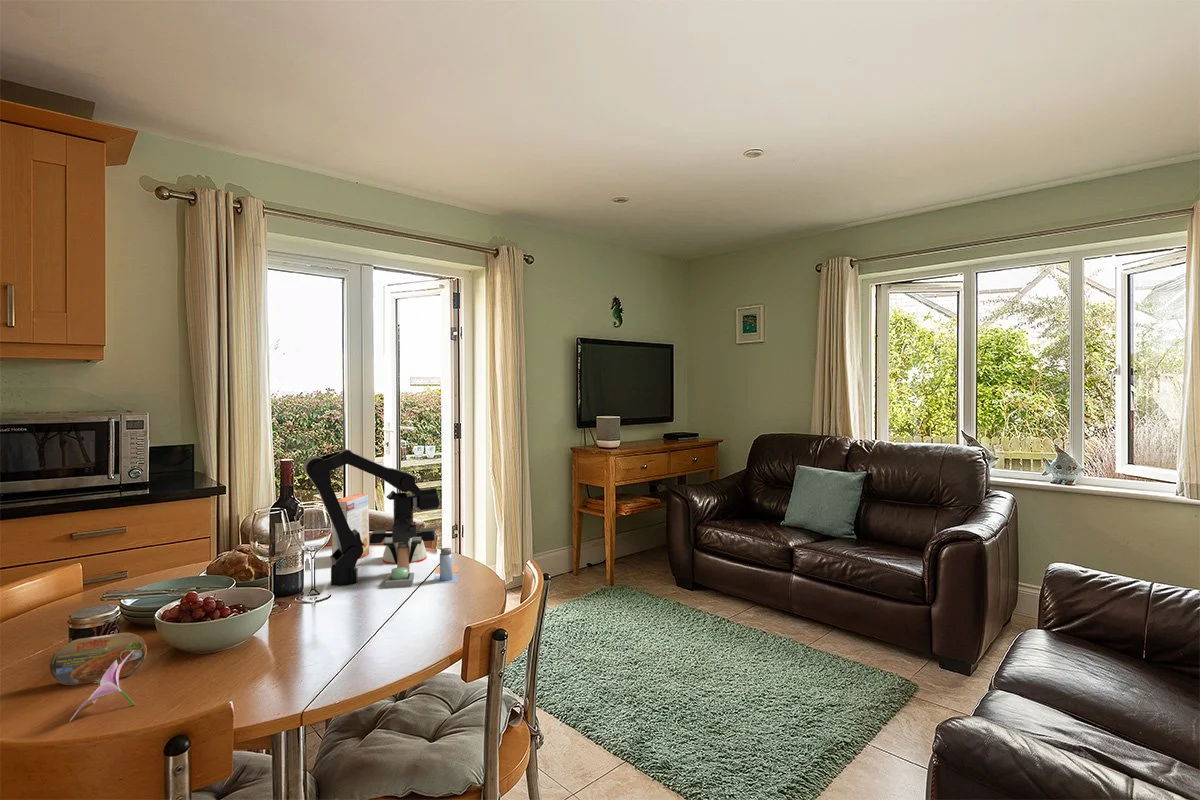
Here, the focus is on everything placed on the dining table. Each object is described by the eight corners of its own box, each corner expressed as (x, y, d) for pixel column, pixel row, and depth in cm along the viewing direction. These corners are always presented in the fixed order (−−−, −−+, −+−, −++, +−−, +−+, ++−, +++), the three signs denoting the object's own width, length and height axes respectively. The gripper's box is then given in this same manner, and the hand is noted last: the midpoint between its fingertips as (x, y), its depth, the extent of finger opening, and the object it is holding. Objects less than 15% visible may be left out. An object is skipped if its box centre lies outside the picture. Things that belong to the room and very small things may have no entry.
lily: (133, 691, 118) (102, 653, 116) (176, 675, 115) (145, 636, 113) (74, 744, 107) (38, 703, 105) (120, 728, 104) (84, 686, 101)
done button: (390, 582, 174) (390, 572, 174) (392, 577, 179) (392, 567, 179) (407, 581, 175) (407, 571, 175) (408, 576, 180) (408, 566, 180)
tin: (48, 689, 117) (48, 645, 116) (55, 681, 119) (55, 639, 119) (144, 675, 123) (144, 633, 122) (148, 668, 125) (148, 627, 125)
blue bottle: (439, 581, 179) (439, 551, 179) (440, 577, 182) (440, 547, 182) (452, 580, 180) (452, 550, 179) (452, 577, 183) (452, 547, 183)
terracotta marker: (396, 573, 185) (396, 544, 185) (397, 570, 188) (397, 541, 188) (408, 573, 186) (409, 543, 185) (409, 569, 189) (410, 540, 189)
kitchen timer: (374, 563, 202) (374, 517, 201) (408, 553, 213) (408, 511, 213) (400, 570, 194) (401, 523, 193) (435, 560, 205) (435, 516, 205)
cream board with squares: (383, 592, 173) (383, 581, 173) (391, 572, 191) (391, 562, 191) (463, 587, 177) (463, 577, 177) (463, 568, 196) (463, 559, 196)
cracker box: (353, 553, 213) (353, 493, 212) (369, 554, 212) (369, 494, 211) (330, 565, 199) (330, 500, 198) (347, 565, 198) (347, 501, 197)
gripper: (366, 519, 177) (366, 573, 177) (433, 517, 181) (433, 569, 181) (372, 511, 188) (372, 562, 188) (435, 509, 192) (435, 559, 192)
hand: (403, 563), depth 187 cm, fingers closed on terracotta marker, 4 cm apart
